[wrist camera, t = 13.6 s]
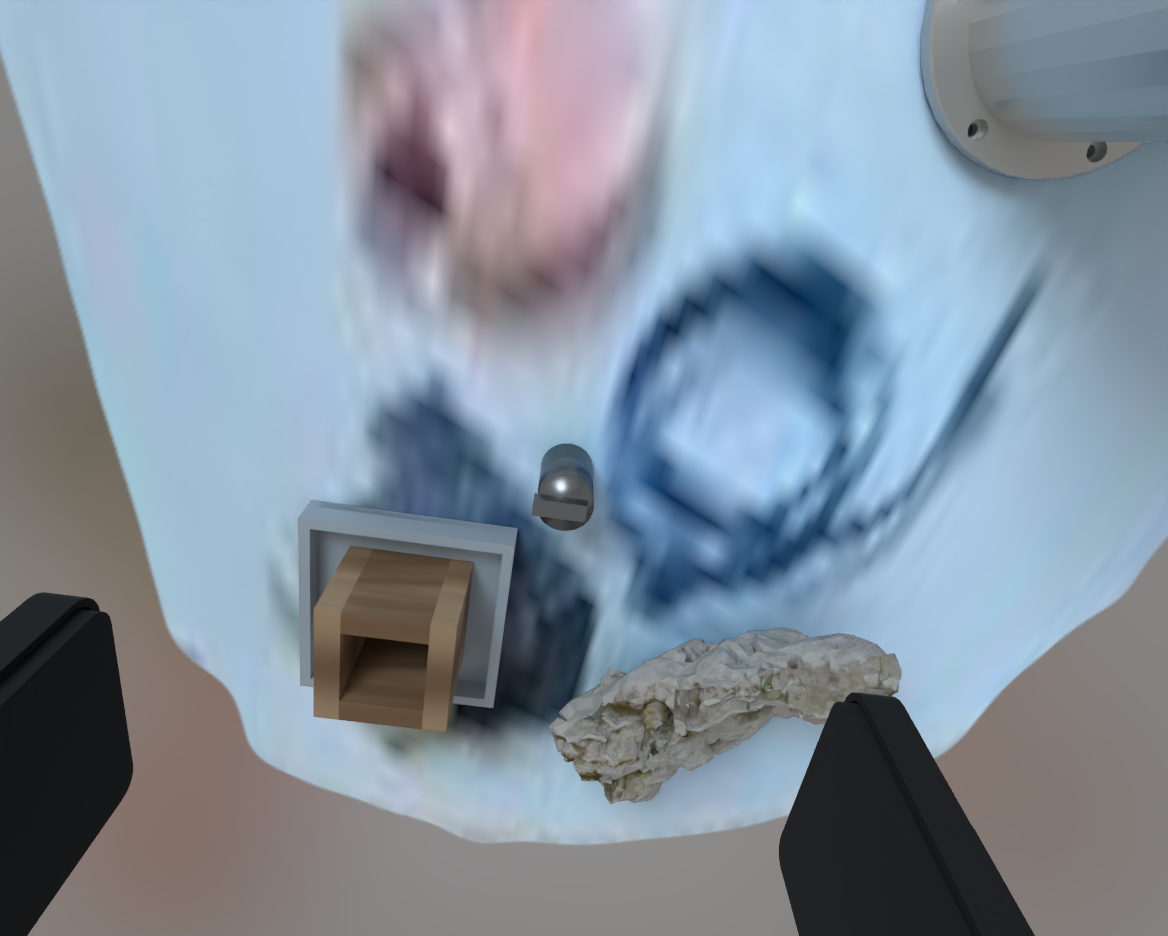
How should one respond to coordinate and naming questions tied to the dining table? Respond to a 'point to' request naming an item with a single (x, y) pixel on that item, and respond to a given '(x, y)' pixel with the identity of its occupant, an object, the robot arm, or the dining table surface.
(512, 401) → the dining table surface
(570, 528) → the grey rounded cylinder
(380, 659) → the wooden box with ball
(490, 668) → the tray
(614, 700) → the rock
